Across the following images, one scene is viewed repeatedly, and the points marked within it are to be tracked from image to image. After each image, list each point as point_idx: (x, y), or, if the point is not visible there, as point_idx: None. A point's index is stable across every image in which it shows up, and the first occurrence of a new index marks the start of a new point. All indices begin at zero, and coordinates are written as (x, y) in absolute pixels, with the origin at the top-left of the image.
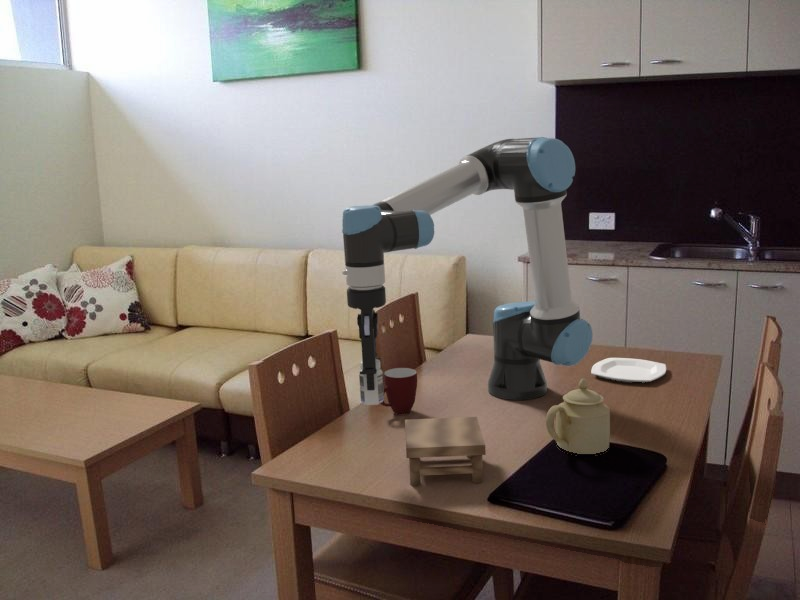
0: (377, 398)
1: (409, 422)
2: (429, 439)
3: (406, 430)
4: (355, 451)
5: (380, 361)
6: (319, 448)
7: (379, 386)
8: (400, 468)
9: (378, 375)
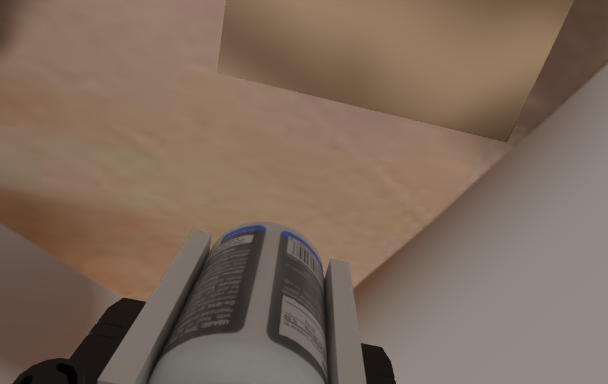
0: (350, 287)
1: (255, 61)
2: (472, 27)
3: (338, 97)
4: (183, 191)
5: (58, 366)
6: (148, 265)
7: (314, 307)
8: (328, 101)
9: (317, 376)
